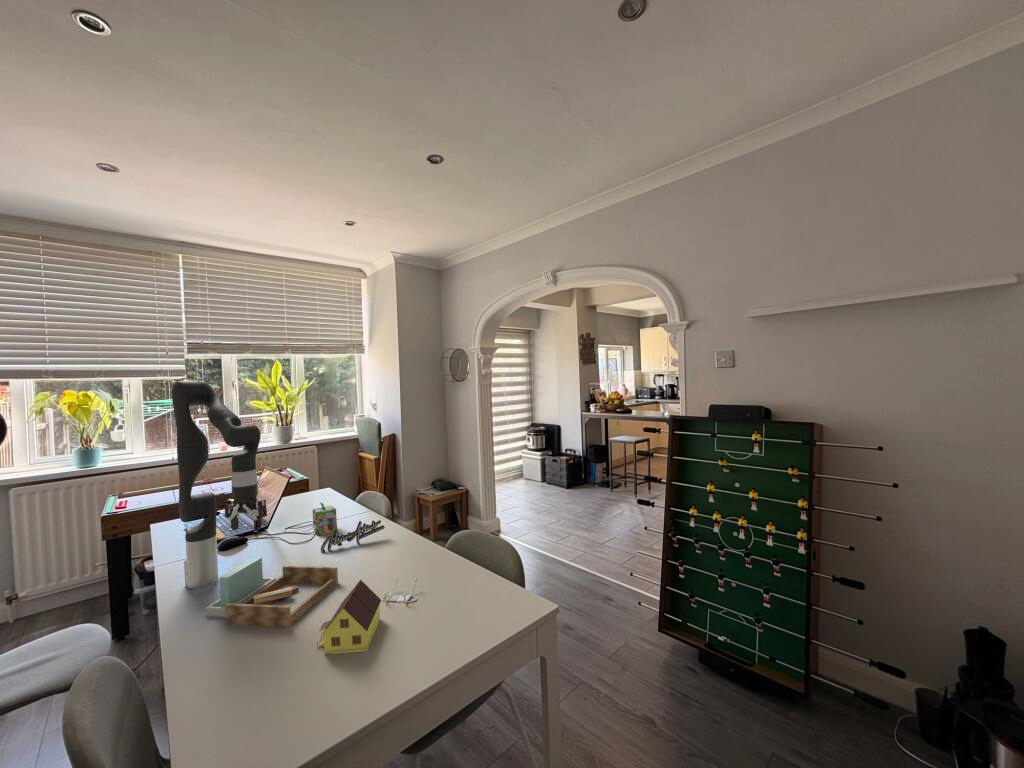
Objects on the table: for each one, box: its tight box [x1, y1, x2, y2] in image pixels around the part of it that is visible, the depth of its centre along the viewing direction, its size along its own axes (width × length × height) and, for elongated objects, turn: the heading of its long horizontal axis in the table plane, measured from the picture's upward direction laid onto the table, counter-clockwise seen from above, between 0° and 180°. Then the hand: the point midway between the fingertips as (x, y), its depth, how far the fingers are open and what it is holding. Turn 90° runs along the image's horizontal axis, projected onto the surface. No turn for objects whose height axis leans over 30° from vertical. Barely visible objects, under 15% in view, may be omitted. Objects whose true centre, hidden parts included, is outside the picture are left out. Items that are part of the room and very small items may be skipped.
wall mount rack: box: [381, 576, 418, 604], centre depth 142 cm, size 12×11×4 cm
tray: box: [205, 576, 277, 618], centre depth 143 cm, size 9×21×3 cm, turn 172°
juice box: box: [312, 502, 338, 537], centre depth 206 cm, size 9×9×15 cm
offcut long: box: [256, 585, 299, 605], centre depth 140 cm, size 2×18×2 cm, turn 151°
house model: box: [316, 579, 382, 655], centre depth 120 cm, size 18×20×13 cm
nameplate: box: [320, 519, 385, 553], centre depth 188 cm, size 28×2×10 cm, turn 122°
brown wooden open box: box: [225, 565, 339, 628], centre depth 141 cm, size 21×27×6 cm
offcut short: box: [254, 586, 293, 604], centre depth 140 cm, size 2×11×2 cm, turn 117°
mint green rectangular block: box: [219, 556, 264, 607], centre depth 143 cm, size 3×15×11 cm, turn 172°
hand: (246, 529), depth 145 cm, fingers open, 8 cm apart
